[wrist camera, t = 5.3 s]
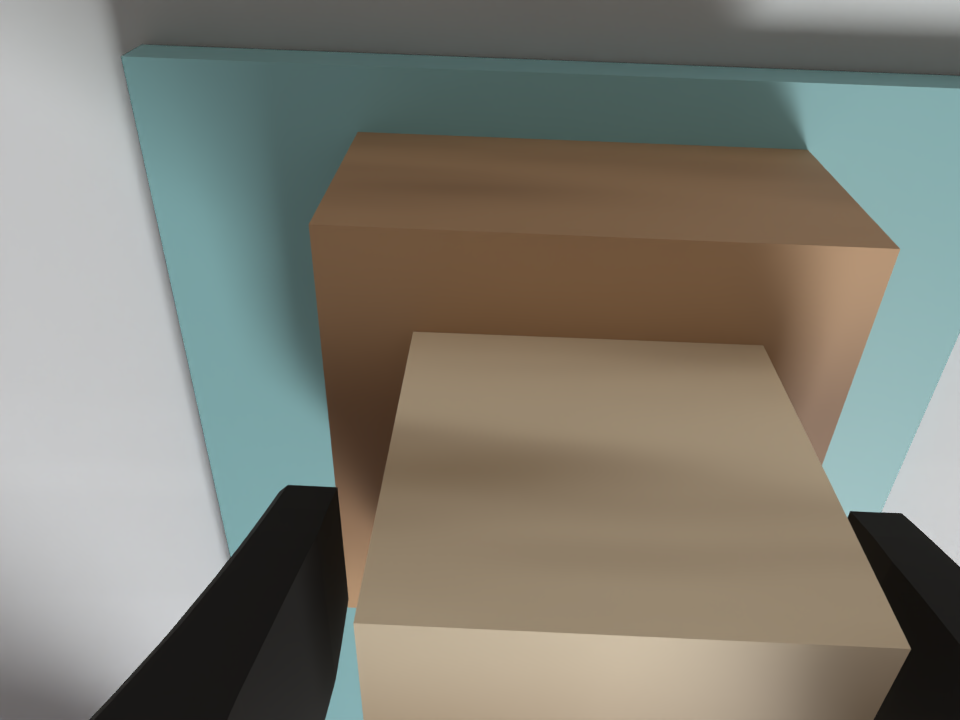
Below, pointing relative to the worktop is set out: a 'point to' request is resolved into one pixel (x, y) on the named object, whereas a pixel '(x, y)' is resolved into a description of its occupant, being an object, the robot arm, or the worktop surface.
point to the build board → (505, 114)
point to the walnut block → (580, 269)
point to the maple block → (612, 543)
